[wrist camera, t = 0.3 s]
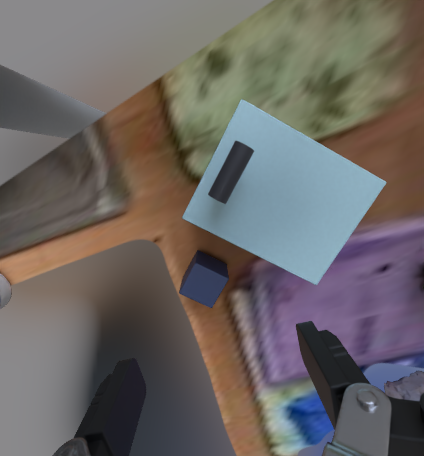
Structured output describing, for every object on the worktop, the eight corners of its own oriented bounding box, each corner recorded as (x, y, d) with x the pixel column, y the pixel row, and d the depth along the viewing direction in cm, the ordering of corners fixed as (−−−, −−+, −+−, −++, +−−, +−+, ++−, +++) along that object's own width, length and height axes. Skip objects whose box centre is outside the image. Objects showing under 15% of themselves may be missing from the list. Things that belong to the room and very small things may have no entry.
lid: (182, 216, 27) (176, 228, 22) (240, 100, 24) (247, 85, 19) (313, 282, 29) (334, 306, 24) (382, 181, 26) (420, 186, 21)
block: (182, 277, 39) (178, 293, 35) (197, 249, 38) (195, 262, 33) (211, 290, 40) (211, 308, 35) (226, 264, 39) (229, 278, 34)
